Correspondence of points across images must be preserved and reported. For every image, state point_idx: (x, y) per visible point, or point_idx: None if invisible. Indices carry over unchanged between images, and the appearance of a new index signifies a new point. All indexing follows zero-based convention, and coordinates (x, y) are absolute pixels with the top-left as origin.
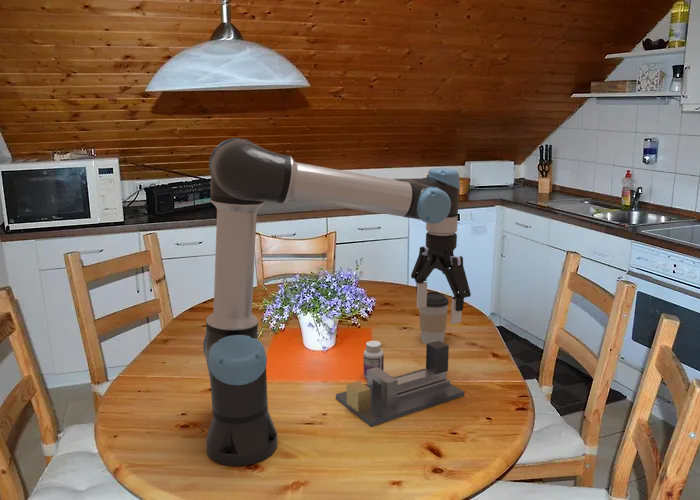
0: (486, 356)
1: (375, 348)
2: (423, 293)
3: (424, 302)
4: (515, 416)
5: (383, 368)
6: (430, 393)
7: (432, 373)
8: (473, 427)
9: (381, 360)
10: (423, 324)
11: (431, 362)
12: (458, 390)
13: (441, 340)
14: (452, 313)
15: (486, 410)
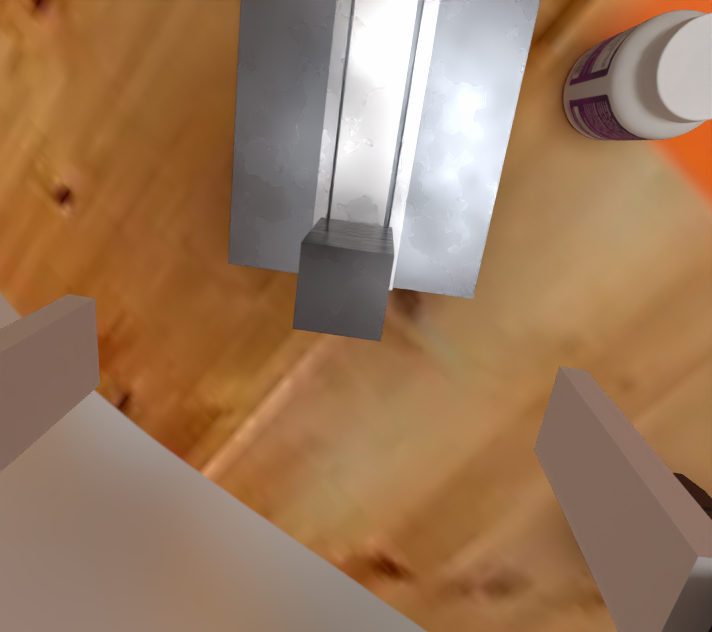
0: (400, 543)
1: (659, 46)
2: (597, 509)
3: (553, 453)
4: (31, 276)
5: (585, 124)
6: (295, 145)
7: (339, 215)
8: (38, 98)
9: (599, 93)
10: None
11: (350, 230)
12: (247, 253)
13: None
14: (11, 331)
15: (110, 235)
